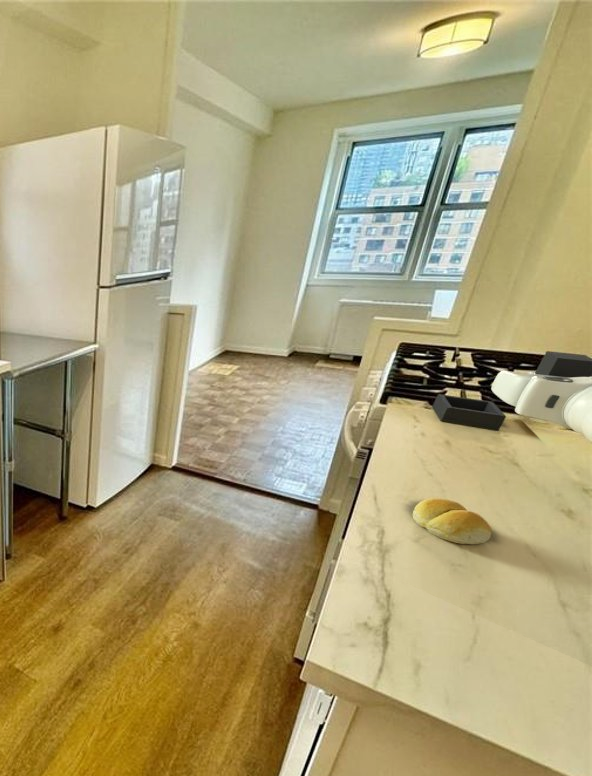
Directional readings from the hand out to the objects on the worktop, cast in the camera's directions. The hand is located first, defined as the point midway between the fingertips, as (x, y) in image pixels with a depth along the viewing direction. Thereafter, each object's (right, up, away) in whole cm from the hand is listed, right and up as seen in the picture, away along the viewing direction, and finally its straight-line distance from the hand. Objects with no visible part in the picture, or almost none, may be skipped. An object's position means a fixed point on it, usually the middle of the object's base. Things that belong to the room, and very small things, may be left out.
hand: (555, 379), depth 87 cm
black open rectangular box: (+8, -5, +25) cm, 27 cm away
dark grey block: (0, -5, +2) cm, 6 cm away
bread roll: (-31, -25, -13) cm, 42 cm away
